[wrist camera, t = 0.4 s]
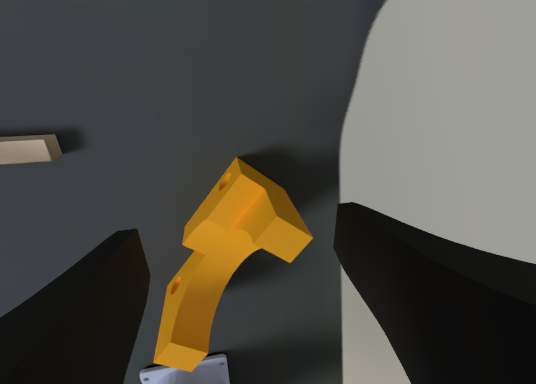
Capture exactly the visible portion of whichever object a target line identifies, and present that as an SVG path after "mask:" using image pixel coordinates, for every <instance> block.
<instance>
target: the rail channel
mask: <svg viewBox="0 0 536 384" xmlns="http://www.w3.org/2000/svg"><path fill="white" fill-rule="evenodd" d="M60 155H62V152H61V149H60V147H59V144H58V141H57V138H56V136H55V134H51V135H31V136H12V137H0V164H12V163H27V162H42V161H52V160H54V159H56V158H57V157H59V156H60Z"/></svg>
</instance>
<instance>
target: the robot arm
mask: <svg viewBox="0 0 536 384" xmlns="http://www.w3.org/2000/svg"><path fill="white" fill-rule="evenodd" d="M333 248H334V250H335V252H336V254H337V257H338V259H339V261H340V263H341V265H342V267H343V269H344V271H345V272H346V274H347V275H348V277H349V278H350V280H351V282H352V283H353V285H354V286H355V288H356V289H357V291H358V292H359V294H360V295H361V297H362V298H363V300H364V301H365V303H366V304H367V306H368V307H369V309H370V310H371V312H372V313H373V315H374V316H375V318H376V319H377V321H378V323H379V324H380V326H381V327H382V329H383V331H384V332H385V334H386V336H387V338H388V339H389V342H390V344H391V345H392V347H393V349H394V351H395V353H396V355H397V357H398V359H399V360H400V362H401V364H402V366H403V368H404V370H405V372H406V374H407V376H408V378H409V380H410V382H411V384H536V264H533V263H528V262H524V261H519V260H516V259H512V258H508V257H504V256H500V255H496V254H493V253H489V252H485V251H481V250H478V249H475V248H472V247H468V246H465V245H462V244H459V243H455V242H453V241H450V240H447V239H444V238H441V237H438V236H436V235H433V234H430V233H428V232H425V231H423V230H420V229H418V228H415V227H413V226H410V225H408V224H405V223H403V222H400V221H398V220H396V219H393V218H391V217H389V216H387V215H384V214H382V213H380V212H377V211H375V210H373V209H370V208H368V207H365V206H363V205H360V204H357V203H354V202H350V203H342V204H338V208H337V217H336V227H335V237H334V246H333ZM149 282H150V272H149V269H148V265H147V262H146V258H145V255H144V251H143V248H142V244H141V241H140V237H139V234H138V230H137V229H130V230H122V231H117V232H116V233H114V234H113V235H111V236H110V237H108V238H107V239H106V240H105V241H103V242H102V243H101V244H100V245H98V246H97V247H96V248H95V249H93V250H92V251H91V252H90V253H88V254H87V255H86V256H85V257H83V258H82V259H81V260H79V261H78V262H77V263H76V264H74V265H73V266H72V267H71V268H69V269H68V270H67V271H66V272H64V273H63V274H62V275H60V276H59V277H57V278H56V279H55V280H53V281H52V282H51V283H49V284H48V285H47V286H45V287H44V288H43V289H41V290H40V291H38V292H37V293H36V294H34V295H33V296H32V297H30V298H29V299H28V300H26V301H25V302H23V303H22V304H20V305H19V306H17V307H16V308H14V309H13V310H11V311H10V312H8V313H7V314H5V315H4V316H2V317H1V318H0V384H123V382H124V378H125V374H126V371H127V367H128V364H129V361H130V357H131V354H132V350H133V347H134V344H135V340H136V337H137V334H138V330H139V327H140V323H141V320H142V316H143V313H144V309H145V306H146V302H147V296H148V289H149ZM140 379H141V382H142V384H230V381H229V373H228V365H227V357H226V355H225V354H218V355H213V356H208V357H205V358H204V359H203V360H202V361H201V362H200V363H199V364H198V365H197V366H196V367H195V369H194V370H193V371H192V372H189V371H185V370H181V369H177V368H173V367H169V366H165V365H163V366H158V367H153V368H148V369H144V370H142V371H141V372H140Z"/></svg>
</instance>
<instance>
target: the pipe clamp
mask: <svg viewBox="0 0 536 384" xmlns="http://www.w3.org/2000/svg"><path fill="white" fill-rule="evenodd" d="M312 239H313V237H312V235H311V234H310V232H309V230H308V229H307V227H306V225H305V223H304V222H303V220H302V218H301V217H300V215H299V213H298V212H297V210H296V208H295V207H294V205H293V203H292V202H291V200H290V198H289V197H288V195H287V193H286V192H285V190H284V189H283V188H282V187H280V186H279V185H277V184H276V183H274V182H273V181H271V180H270V179H268V178H267V177H265V176H264V175H262V174H261V173H259V172H258V171H257V170H255V169H254V168H252V167H251V166H249V165H248V164H246V163H245V162H243V161H242V160H240V159H239V158H237V157H236V158H235V160H234V161H233V162H232V164H231V165H230V166H229V168H228V169H227V171H226V172H225V173H224V175H223V176H222V177H221V179H220V180H219V181H218V183H217V184H216V185H215V187H214V188H213V189H212V191H211V192H210V193H209V195H208V196H207V198H206V199H205V200H204V202H203V203H202V204H201V206H200V207H199V208H198V210H197V211H196V212H195V214H194V215H193V216H192V218H191V219H190V220H189V222H188V223H187V225H186V226H185V231H184V238H183V245H184V246H186V247H188V248H191V249H193V250H195V251H194V252H193V254H192V255H191V256H190V257H189V259H188V260H187V261H186V263H185V264H184V265H183V266H182V268H181V269H180V270H179V272H178V273H177V274H176V276H175V277H174V278H173V279H172V281H171V282H170V283H169V285H168V287H167V292H166V298H165V303H164V308H163V314H162V319H161V324H160V330H159V335H158V340H157V346H156V351H155V356H154V362H153V363H156V364H160V365H165V366H169V367H173V368H177V369H181V370H185V371H189V372H192V371H193V370H194V369H195V367H196V366H197V365H198V364H199V363H200V362H201V361H202V360H203V359H204V358H205V356H206V355H207V354H208V346H209V337H210V331H211V325H212V321H213V317H214V314H215V311H216V308H217V305H218V302H219V300H220V297H221V295H222V293H223V291H224V288H225V286H226V285H227V283H228V281H229V279H230V278H231V276H232V275H233V273H234V272H235V270H236V269H237V268H238V266H239V265H240V264H241V263H242V262H243V261H244V260H245V259H246V258H247V257H248V256H249V255H250V254H252V253H253V252H255V251H256V250H258V249H260V248H263V249H265V250H266V251H268V252H270V253H272V254H274V255H276V256H278V257H280V258H282V259H284V260H285V261H287V262H289V263H291V262H292V261H293V259H294V258H295V257H296V256H297V255H298V254H299V253H300V252H301V251H302V250H303V248H304V247H305V246H306V245H307V244H308V243H309V242H310V241H311V240H312Z"/></svg>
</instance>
